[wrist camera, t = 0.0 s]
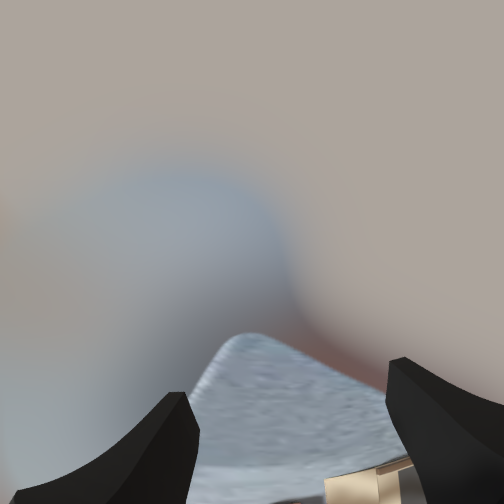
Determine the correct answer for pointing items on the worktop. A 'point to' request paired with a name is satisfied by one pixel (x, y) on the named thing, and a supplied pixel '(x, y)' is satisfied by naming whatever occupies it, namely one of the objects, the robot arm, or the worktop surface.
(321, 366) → the worktop surface
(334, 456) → the worktop surface
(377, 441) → the worktop surface
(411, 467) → the dock
